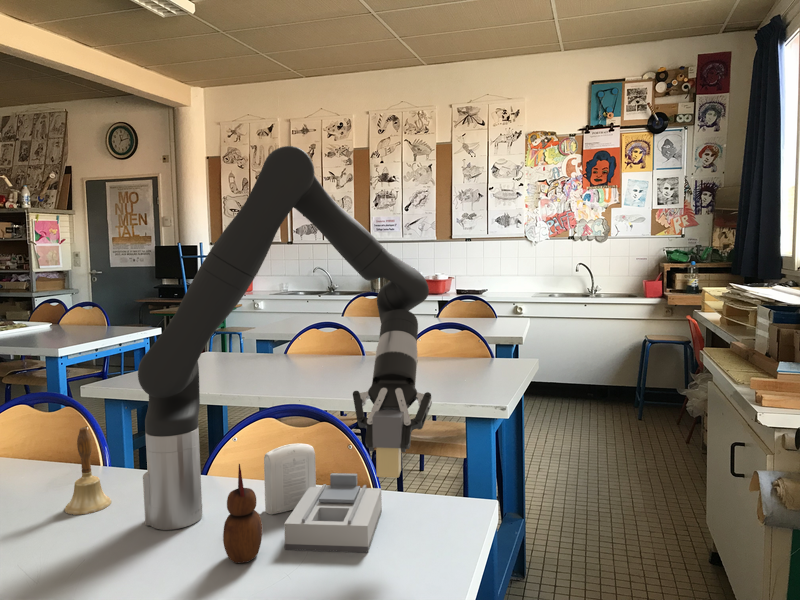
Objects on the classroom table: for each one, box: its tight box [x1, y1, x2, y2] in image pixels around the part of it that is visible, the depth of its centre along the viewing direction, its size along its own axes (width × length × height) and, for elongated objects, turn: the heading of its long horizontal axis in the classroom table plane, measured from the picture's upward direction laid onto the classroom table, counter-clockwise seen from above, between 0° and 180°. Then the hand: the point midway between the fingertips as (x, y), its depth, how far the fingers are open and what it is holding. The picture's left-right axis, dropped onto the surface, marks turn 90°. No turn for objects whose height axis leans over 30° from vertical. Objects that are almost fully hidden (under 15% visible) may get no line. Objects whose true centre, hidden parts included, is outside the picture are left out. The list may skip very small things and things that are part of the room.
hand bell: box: [64, 426, 112, 516], centre depth 119 cm, size 8×8×16 cm
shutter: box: [319, 472, 361, 503], centre depth 111 cm, size 6×7×3 cm
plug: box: [372, 410, 404, 479], centre depth 98 cm, size 5×5×10 cm
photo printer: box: [263, 442, 317, 515], centre depth 117 cm, size 10×4×12 cm, turn 123°
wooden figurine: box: [222, 463, 263, 564], centre depth 97 cm, size 7×6×15 cm
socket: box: [283, 483, 383, 554], centre depth 107 cm, size 14×16×5 cm
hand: (387, 449), depth 97 cm, fingers closed on plug, 4 cm apart
